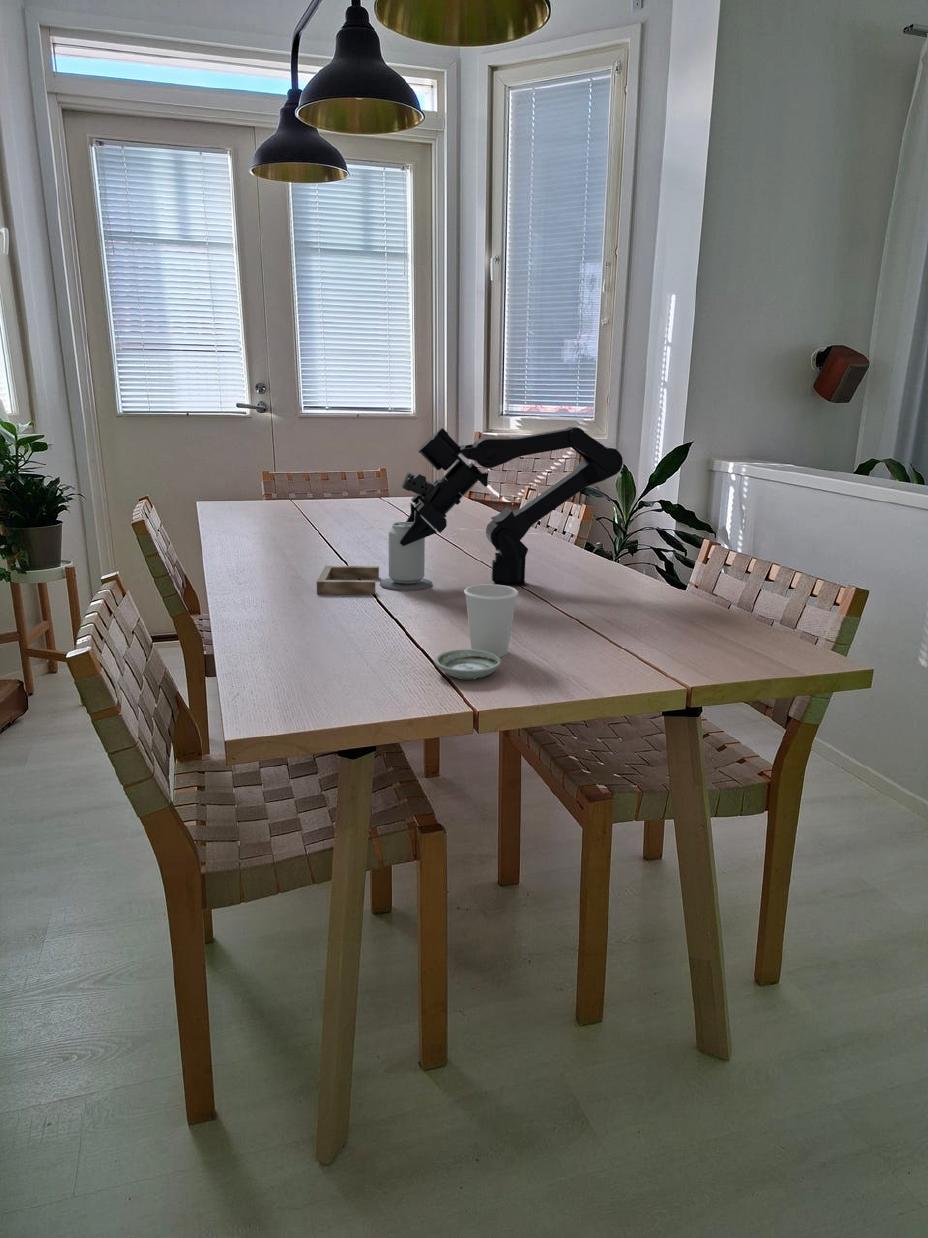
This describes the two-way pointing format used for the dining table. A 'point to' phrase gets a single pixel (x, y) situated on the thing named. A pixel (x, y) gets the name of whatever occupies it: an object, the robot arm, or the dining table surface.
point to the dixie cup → (490, 616)
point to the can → (405, 556)
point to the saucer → (467, 663)
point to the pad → (405, 585)
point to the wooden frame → (347, 586)
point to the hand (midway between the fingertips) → (400, 540)
